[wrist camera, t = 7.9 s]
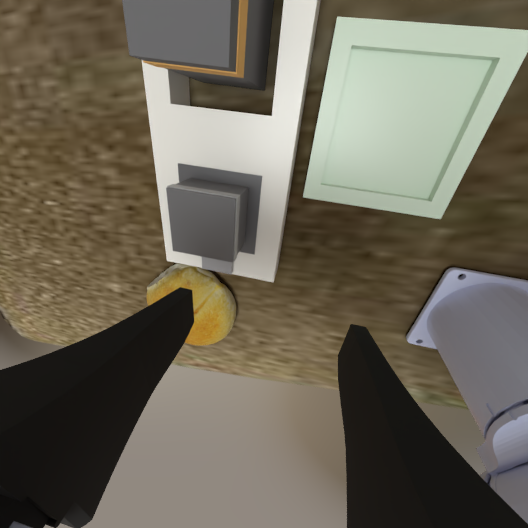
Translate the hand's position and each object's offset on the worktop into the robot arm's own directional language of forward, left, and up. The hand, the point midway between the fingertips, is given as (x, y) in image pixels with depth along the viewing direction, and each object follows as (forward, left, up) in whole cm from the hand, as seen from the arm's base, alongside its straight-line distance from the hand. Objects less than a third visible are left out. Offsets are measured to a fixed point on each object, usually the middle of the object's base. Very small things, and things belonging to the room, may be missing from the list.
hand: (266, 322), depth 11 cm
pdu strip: (+5, -6, -10) cm, 13 cm away
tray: (-5, -8, -10) cm, 14 cm away
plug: (+5, -11, -10) cm, 16 cm away
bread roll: (+8, +9, -10) cm, 16 cm away
